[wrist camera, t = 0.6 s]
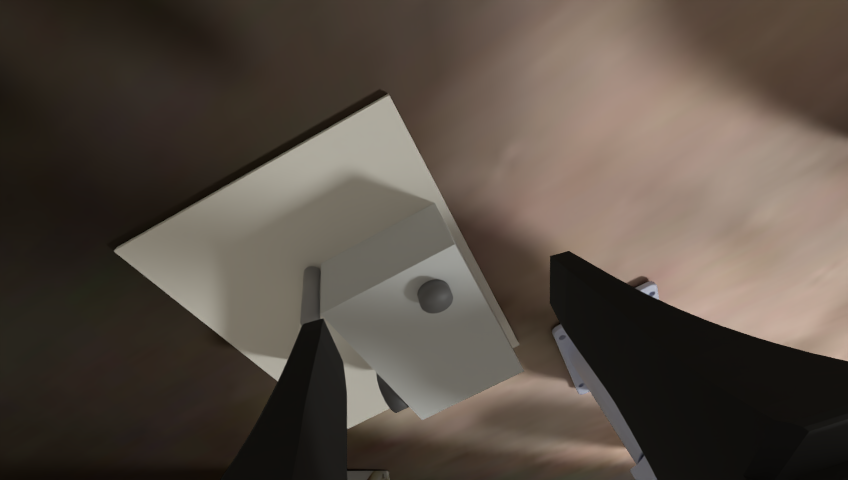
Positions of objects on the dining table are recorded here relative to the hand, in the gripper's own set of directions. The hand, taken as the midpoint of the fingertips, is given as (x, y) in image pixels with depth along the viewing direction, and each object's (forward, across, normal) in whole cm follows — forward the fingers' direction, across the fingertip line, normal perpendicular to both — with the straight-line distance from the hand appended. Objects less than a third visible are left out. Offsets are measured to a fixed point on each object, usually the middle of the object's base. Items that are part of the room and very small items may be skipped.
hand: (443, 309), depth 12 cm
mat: (+10, +4, +7) cm, 13 cm away
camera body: (+9, 0, +8) cm, 12 cm away
